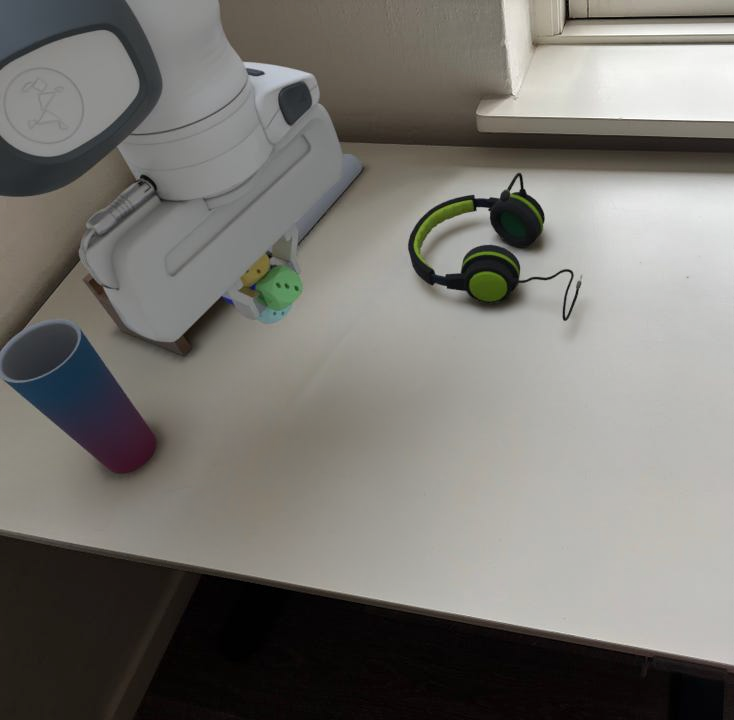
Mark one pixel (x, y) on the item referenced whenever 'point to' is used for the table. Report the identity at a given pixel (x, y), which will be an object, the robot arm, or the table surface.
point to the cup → (77, 393)
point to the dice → (272, 288)
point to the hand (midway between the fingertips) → (272, 293)
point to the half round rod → (328, 197)
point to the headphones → (487, 262)
